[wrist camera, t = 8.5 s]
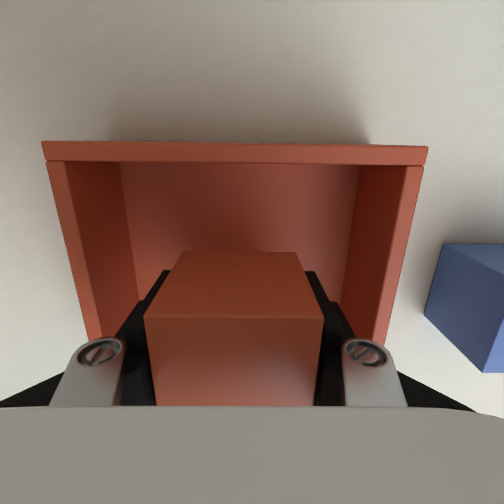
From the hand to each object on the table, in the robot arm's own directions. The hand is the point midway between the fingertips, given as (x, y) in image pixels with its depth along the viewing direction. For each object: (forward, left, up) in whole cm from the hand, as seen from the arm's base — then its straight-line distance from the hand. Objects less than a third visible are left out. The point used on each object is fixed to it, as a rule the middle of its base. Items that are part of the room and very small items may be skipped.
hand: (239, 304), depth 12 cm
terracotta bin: (0, 0, -4) cm, 4 cm away
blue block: (+1, +13, -4) cm, 14 cm away
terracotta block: (0, 0, 0) cm, 0 cm away
